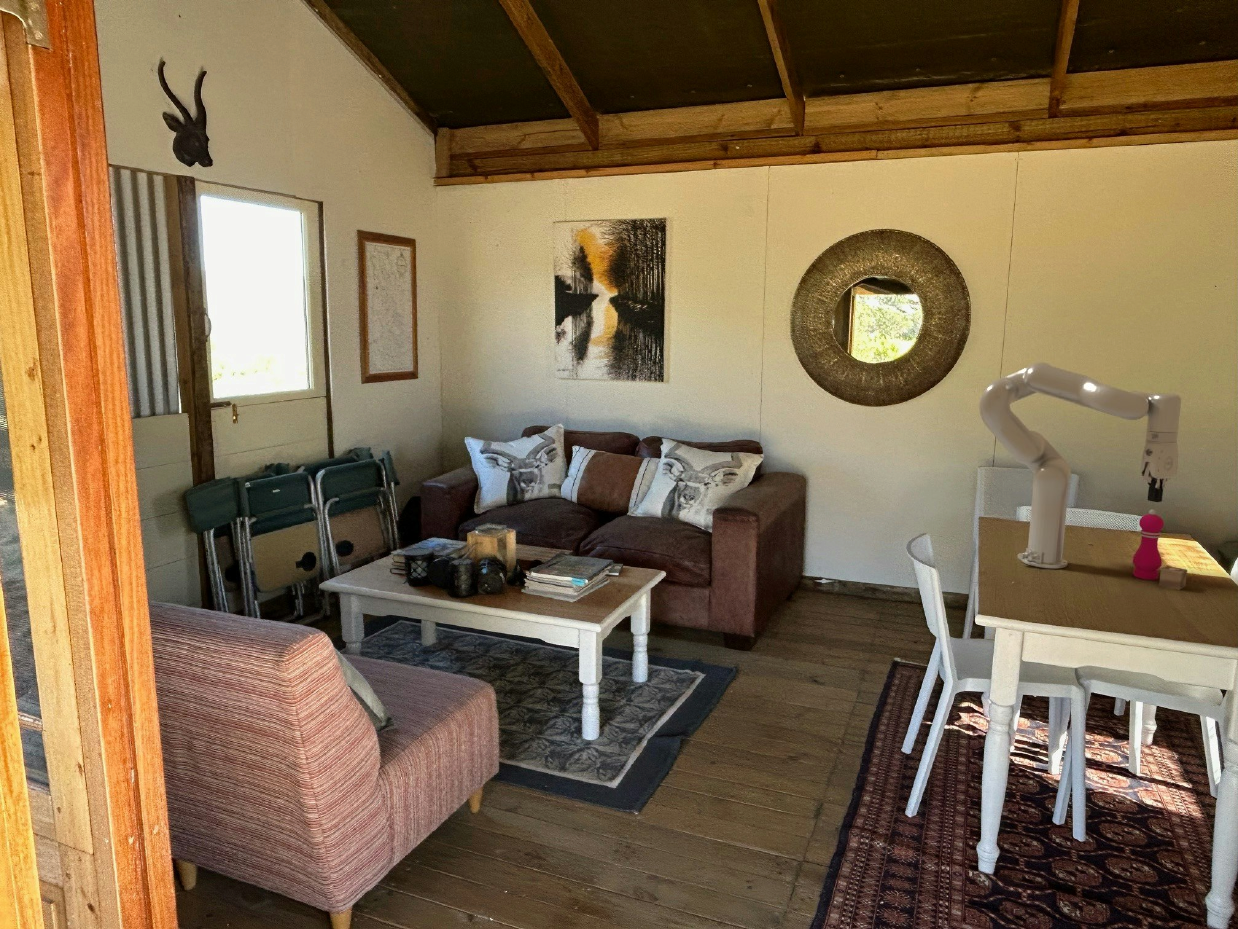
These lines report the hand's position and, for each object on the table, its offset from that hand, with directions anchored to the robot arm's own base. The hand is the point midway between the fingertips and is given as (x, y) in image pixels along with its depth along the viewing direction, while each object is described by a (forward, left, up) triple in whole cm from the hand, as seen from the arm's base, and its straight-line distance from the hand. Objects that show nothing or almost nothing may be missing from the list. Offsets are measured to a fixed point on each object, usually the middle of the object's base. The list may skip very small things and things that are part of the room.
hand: (1154, 501), depth 248 cm
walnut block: (-2, -9, -23) cm, 24 cm away
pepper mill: (0, 0, -23) cm, 23 cm away
